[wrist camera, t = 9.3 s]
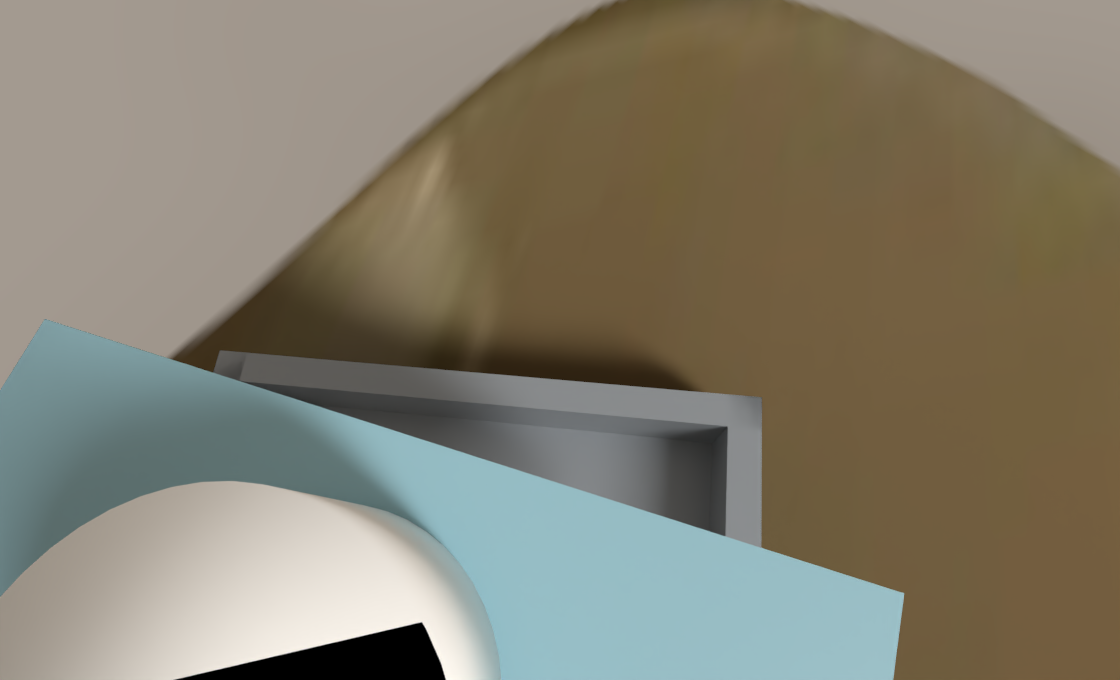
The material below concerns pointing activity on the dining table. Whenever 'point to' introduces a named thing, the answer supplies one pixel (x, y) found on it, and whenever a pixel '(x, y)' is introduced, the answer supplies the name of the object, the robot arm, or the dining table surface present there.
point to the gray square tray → (554, 430)
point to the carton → (359, 551)
